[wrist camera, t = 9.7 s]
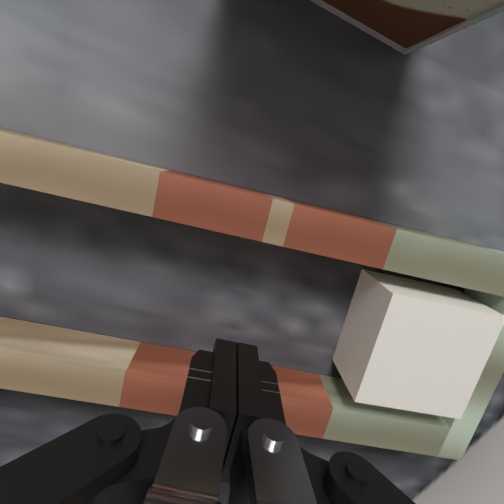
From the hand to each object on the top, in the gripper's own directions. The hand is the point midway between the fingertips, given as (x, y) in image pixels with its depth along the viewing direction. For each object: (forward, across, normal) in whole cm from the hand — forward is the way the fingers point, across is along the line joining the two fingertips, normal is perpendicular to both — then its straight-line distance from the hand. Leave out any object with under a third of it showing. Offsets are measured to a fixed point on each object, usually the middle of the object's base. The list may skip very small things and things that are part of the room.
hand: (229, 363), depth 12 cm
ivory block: (+8, -10, 0) cm, 13 cm away
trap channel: (+7, -1, 0) cm, 7 cm away
